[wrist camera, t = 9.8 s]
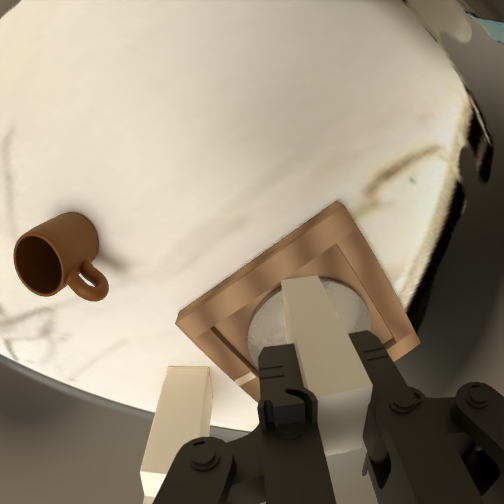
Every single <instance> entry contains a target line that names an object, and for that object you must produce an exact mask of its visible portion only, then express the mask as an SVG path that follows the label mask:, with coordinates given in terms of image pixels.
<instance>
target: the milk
mask: <svg viewBox="0 0 504 504" xmlns="http://www.w3.org/2000/svg"><path fill="white" fill-rule="evenodd" d="M212 398H213V394H212V387H211V381H210V375H209V368H208V367H168V370H167V374H166V377H165V380H164V384H163V387H162V391H161V394H160V398H159V402H158V405H157V409H156V412H155V416H154V420H153V423H152V427H151V431H150V435H149V438H148V442H147V446H146V450H145V454H144V458H143V462H142V466H141V470H140V474H141V480H142V485H143V490H144V494H145V496H144V501H143V504H152V503H153V501H154V499H155V497H156V495H157V493H158V491H159V489H160V487H161V485H162V483H163V481H164V479H165V477H166V475H167V473H168V471H169V468H170V466H171V464H172V462H173V460H174V458H175V456H176V454H177V452H178V451H179V450H180V448H181V447H182V446H183V445H184V444H185V443H187V442H189V441H190V440H192V439H196V438H199V437H209V429H210V419H211V408H212Z"/></svg>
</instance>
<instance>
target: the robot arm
mask: <svg viewBox="0 0 504 504" xmlns="http://www.w3.org/2000/svg"><path fill="white" fill-rule="evenodd" d="M456 1H457V2H458V3H459V4H460V5H461V6H462V7H463V8H464V10H465V11H466V13H467V14H468V15H469V16H470V17H471V18H473V19H474V20H475V21H476V22H477V23H478V24H479V25H480V26H481V27H482V28H483V29H484V30H485V32H486V33H487V34H488V35H489V36H490V37H491V38H492V39H493V40H495V41H496V42H498V43H500V44H503V45H504V0H456ZM281 285H282V295H283V307H284V318H285V330H286V338H287V343H288V344H284V345H276V346H268V347H263V349H262V351H261V353H260V354H259V356H258V367H259V382H260V397H261V399H260V400H259V403H258V408H257V410H258V415H259V421H260V422H259V425H258V426H257V427H256V428H255V429H254V431H252V432H251V433H249V434H248V435H246V436H244V437H242V438H239V439H236V440H233V441H230V442H227V443H225V442H224V441H223V440H221V439H218V438H215V437H199V438H196V439H192V440H190V441H189V442H187V443H185V444H184V445H183V446H182V447H181V448H180V450H179V451H178V452H177V454H176V456H175V458H174V460H173V462H172V464H171V466H170V468H169V471H168V473H167V475H166V477H165V479H164V481H163V483H162V485H161V487H160V489H159V491H158V493H157V495H156V497H155V499H154V501H153V503H152V504H260V503H262V502H265V501H266V504H336V500H335V496H334V492H333V487H332V483H331V478H330V474H329V470H328V466H327V462H326V457H325V456H329V455H334V454H339V453H344V452H349V451H353V450H358V449H361V446H362V441H363V440H364V443H365V446H366V448H367V454H366V458H365V462H364V465H363V469H362V475H363V476H365V475H366V474H367V470H368V472H369V475H370V478H371V481H372V484H373V488H374V490H375V494H376V497H377V501H378V504H504V397H503V396H502V395H501V394H499V393H498V392H497V391H496V390H495V389H493V388H492V387H490V386H489V385H487V384H485V383H480V382H470V383H467V384H465V385H463V386H462V387H461V388H460V389H459V390H458V391H457V393H456V396H455V397H449V398H427V397H426V396H425V395H424V394H423V393H422V392H421V391H420V390H418V389H415V388H413V387H409V386H407V384H406V382H405V381H404V379H403V377H402V375H401V374H400V372H399V370H398V369H397V367H396V365H395V364H394V362H393V360H392V359H391V357H389V354H388V352H387V350H386V349H384V346H383V344H382V342H381V341H380V339H379V337H377V336H376V335H374V334H373V333H371V332H370V331H368V330H365V331H360V332H354V333H348V334H347V332H346V330H345V328H344V326H343V324H342V322H341V320H340V318H339V316H338V314H337V312H336V310H335V308H334V306H333V304H332V302H331V300H330V298H329V296H328V294H327V292H326V290H325V288H324V286H323V285H322V283H321V281H320V279H319V277H318V275H316V276H308V277H301V278H293V279H285V280H281Z"/></svg>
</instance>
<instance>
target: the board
mask: <svg viewBox="0 0 504 504" xmlns="http://www.w3.org/2000/svg"><path fill="white" fill-rule="evenodd" d="M316 275H318V277H323V278H330V279H334V280H337V281H340V282H342V283H344V284H346V285H348V286H349V287H351V288H352V289H353V290H354V291H355V292H356V293H357V294H358V295H359V296H360V297H361V299H362V300H363V302H364V303H365V305H366V307H367V309H368V311H369V314H370V319H371V333H373V334H374V335H376V336H377V337H379V339H380V341H381V342H382V344H383V346H384V349H386V350H387V352H388V354H389V357H391V359H392V360H393V362H394V361H396V360H397V359H399V358H400V357H402V356H403V355H405V354H406V353H407V352H409V351H410V350H412V349H413V348H414V347H416V346H417V345H419V344H420V341H419V339H418V337H417V335H416V333H415V331H414V329H413V327H412V325H411V323H410V321H409V319H408V317H407V315H406V313H405V311H404V309H403V307H402V305H401V303H400V301H399V299H398V297H397V295H396V293H395V292H394V290H393V288H392V286H391V284H390V282H389V280H388V279H387V277H386V275H385V273H384V271H383V270H382V268H381V266H380V264H379V263H378V261H377V259H376V257H375V256H374V254H373V252H372V250H371V249H370V247H369V245H368V244H367V242H366V240H365V238H364V237H363V235H362V233H361V232H360V230H359V229H358V227H357V225H356V224H355V222H354V220H353V219H352V217H351V215H350V214H349V212H348V211H347V209H346V208H345V206H344V205H343V204H341V203H339V202H338V201H336V202H334V203H333V204H331V205H330V206H329V207H327V208H326V209H324V210H323V211H322V212H320V213H319V214H317V215H316V216H315V217H313V218H312V219H310V220H309V221H308V222H306V223H305V224H303V225H302V226H300V227H299V228H298V229H296V230H295V231H293V232H292V233H291V234H289V235H288V236H286V237H285V238H284V239H282V240H281V241H279V242H278V243H276V244H275V245H274V246H272V247H271V248H269V249H268V250H267V251H265V252H264V253H262V254H261V255H259V256H258V257H257V258H255V259H254V260H252V261H251V262H250V263H248V264H247V265H245V266H244V267H242V268H241V269H240V270H238V271H237V272H235V273H234V274H232V275H231V276H230V277H228V278H227V279H225V280H224V281H223V282H221V283H220V284H218V285H217V286H215V287H214V288H213V289H211V290H210V291H208V292H207V293H205V294H204V295H203V296H201V297H200V298H198V299H197V300H195V301H194V302H193V303H191V304H190V305H188V306H187V307H185V308H184V309H183V310H181V311H180V312H179V314H178V317H177V320H176V323H175V324H176V325H177V326H178V327H179V328H180V329H181V330H182V331H183V332H184V334H185V335H186V336H187V337H188V338H189V339H190V340H191V341H192V342H193V343H194V344H195V345H196V346H197V347H198V348H199V349H200V350H201V351H203V352H204V353H205V354H206V355H207V356H208V357H209V358H210V359H211V360H212V361H213V362H214V363H215V364H216V365H217V366H218V367H219V368H220V369H221V370H222V371H223V372H224V373H226V374H227V375H228V376H229V377H230V378H231V379H232V380H233V381H234V382H235V383H236V384H237V385H238V386H240V387H241V388H242V389H243V390H244V391H245V392H246V393H247V394H249V395H250V396H251V397H252V398H253V399H254V400H255V401H257V402H258V403H259V400H260V399H261V397H260V382H259V368H258V367H257V366H256V365H255V363H254V362H253V360H252V358H251V356H250V353H249V349H248V336H247V334H248V326H249V322H250V320H251V317H252V315H253V313H254V311H255V310H256V308H257V307H258V305H259V304H260V303H261V301H262V300H263V299H264V298H266V297H267V296H268V295H269V294H270V293H271V292H273V291H274V290H276V289H277V288H279V287H281V286H282V285H281V280H285V279H293V278H301V277H308V276H316Z"/></svg>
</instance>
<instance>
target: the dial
mask: <svg viewBox="0 0 504 504" xmlns="http://www.w3.org/2000/svg"><path fill="white" fill-rule="evenodd" d="M319 279H320V281H321V283H322V285H323V286H324V288H325V290H326V292H327V294H328V296H329V298H330V300H331V302H332V304H333V306H334V308H335V310H336V312H337V314H338V316H339V318H340V320H341V322H342V324H343V326H344V328H345V330H346V332H347V334H348V333H354V332H360V331H365V330H368V331H370V332H371V319H370V314H369V311H368V309H367V307H366V305H365V303H364V302H363V300H362V299H361V297H360V296H359V295H358V294H357V293H356V292H355V291H354V290H353V289H352V288H351V287H349V286H348V285H346V284H344V283H342V282H340V281H337V280H334V279H330V278H323V277H319ZM247 336H248V349H249V353H250V356H251V358H252V360H253V362H254V363H255V365H256V366H257V367H258V356H259V354H260V353H261V351H262V349H263V347H268V346H276V345H284V344H288V343H287V338H286V330H285V318H284V307H283V295H282V286H281V287H279V288H277V289H276V290H274V291H273V292H271V293H270V294H269V295H268V296H267V297H266V298H264V299H263V300H262V301H261V303H260V304H259V305H258V307H257V308H256V310H255V311H254V313H253V315H252V317H251V320H250V322H249V326H248V334H247ZM258 368H259V367H258Z"/></svg>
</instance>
